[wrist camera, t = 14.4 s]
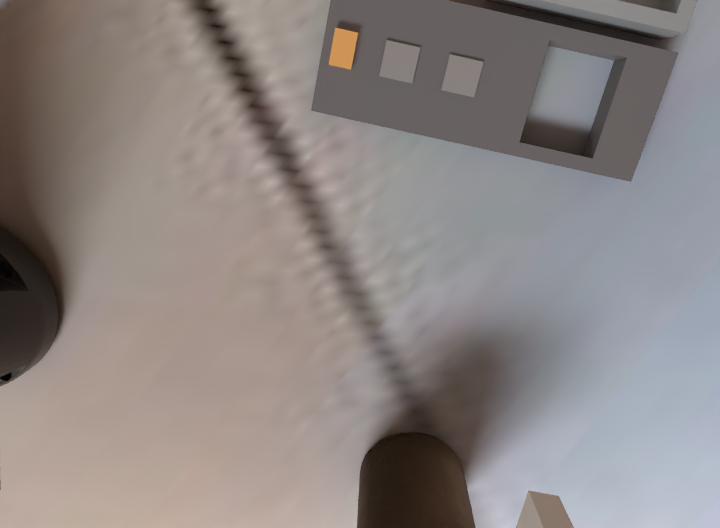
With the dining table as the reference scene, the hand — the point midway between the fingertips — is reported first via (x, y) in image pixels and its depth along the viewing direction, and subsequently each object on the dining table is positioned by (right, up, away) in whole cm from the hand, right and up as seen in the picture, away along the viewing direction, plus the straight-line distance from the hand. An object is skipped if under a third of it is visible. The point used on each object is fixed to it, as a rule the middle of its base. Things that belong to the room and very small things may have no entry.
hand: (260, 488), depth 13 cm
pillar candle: (+7, -14, +36) cm, 39 cm away
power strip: (+12, +19, +25) cm, 34 cm away
